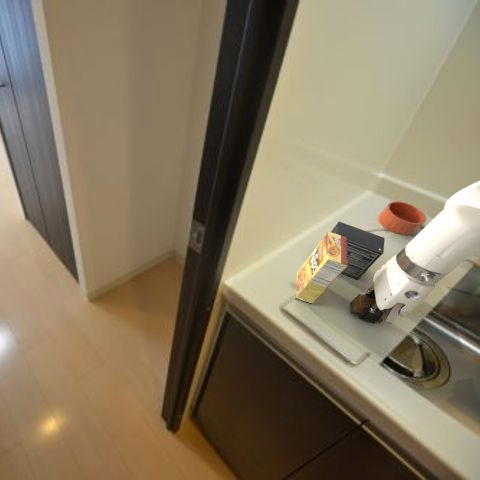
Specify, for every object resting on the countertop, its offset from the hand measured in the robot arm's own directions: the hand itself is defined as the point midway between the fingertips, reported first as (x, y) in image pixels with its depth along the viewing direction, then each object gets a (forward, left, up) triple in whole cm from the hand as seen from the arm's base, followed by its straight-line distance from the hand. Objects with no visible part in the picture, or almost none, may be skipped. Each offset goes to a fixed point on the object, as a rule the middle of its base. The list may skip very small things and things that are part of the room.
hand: (365, 312), depth 74 cm
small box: (+5, -14, -1) cm, 15 cm away
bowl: (-12, -38, -1) cm, 40 cm away
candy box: (+13, -2, -1) cm, 13 cm away
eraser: (0, 0, 0) cm, 0 cm away
